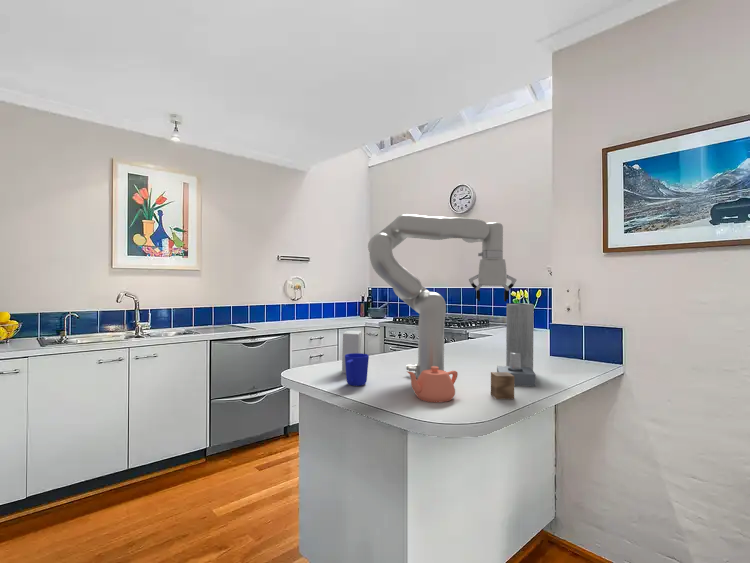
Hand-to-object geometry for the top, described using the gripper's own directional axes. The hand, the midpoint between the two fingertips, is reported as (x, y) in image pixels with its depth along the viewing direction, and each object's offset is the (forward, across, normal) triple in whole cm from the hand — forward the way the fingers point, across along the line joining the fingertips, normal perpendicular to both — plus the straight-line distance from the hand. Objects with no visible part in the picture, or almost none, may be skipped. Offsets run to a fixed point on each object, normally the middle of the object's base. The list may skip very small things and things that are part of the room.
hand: (492, 301), depth 156 cm
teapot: (+29, -19, -35) cm, 49 cm away
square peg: (+28, +2, -28) cm, 40 cm away
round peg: (+28, +8, -6) cm, 30 cm away
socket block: (+28, +8, -6) cm, 30 cm away
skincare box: (+28, -53, -6) cm, 60 cm away
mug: (+28, -46, -27) cm, 60 cm away
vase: (+28, +11, +9) cm, 32 cm away
